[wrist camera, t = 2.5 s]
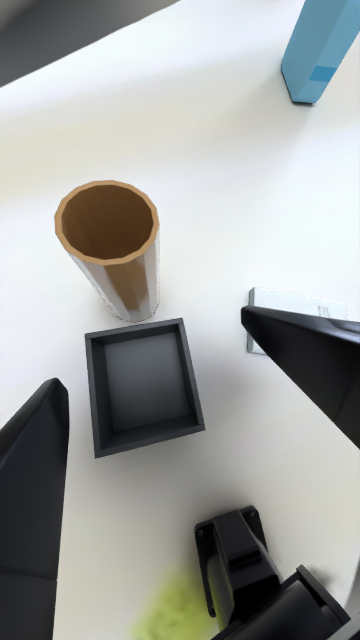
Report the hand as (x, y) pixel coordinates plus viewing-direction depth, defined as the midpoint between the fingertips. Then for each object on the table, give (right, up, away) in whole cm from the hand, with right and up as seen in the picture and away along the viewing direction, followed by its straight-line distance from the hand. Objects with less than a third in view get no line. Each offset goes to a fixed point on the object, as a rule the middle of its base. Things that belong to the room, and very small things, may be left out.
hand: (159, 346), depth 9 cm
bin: (-3, -5, +12) cm, 14 cm away
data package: (+24, +48, +29) cm, 61 cm away
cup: (-5, +4, +15) cm, 16 cm away
